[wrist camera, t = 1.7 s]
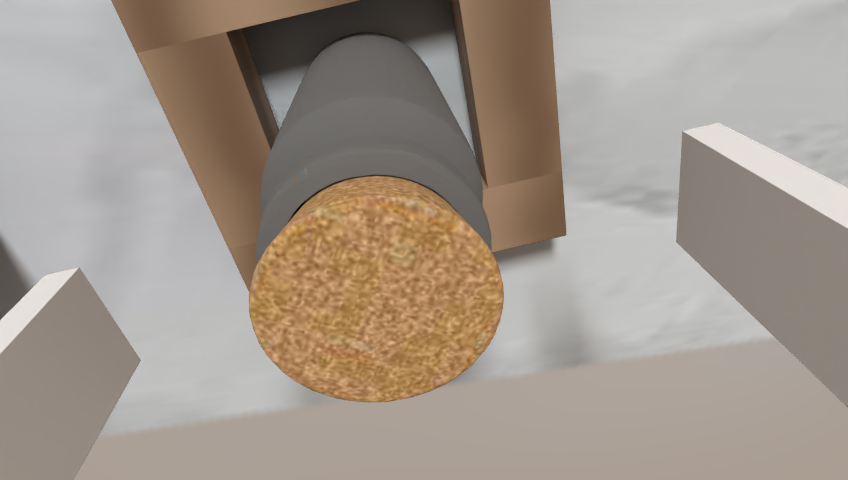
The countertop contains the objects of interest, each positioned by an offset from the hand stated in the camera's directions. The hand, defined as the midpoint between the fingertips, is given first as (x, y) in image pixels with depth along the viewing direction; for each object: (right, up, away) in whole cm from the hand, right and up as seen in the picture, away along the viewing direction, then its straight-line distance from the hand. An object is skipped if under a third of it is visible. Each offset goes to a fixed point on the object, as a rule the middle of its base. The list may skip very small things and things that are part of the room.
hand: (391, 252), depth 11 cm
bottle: (-2, +6, +11) cm, 13 cm away
